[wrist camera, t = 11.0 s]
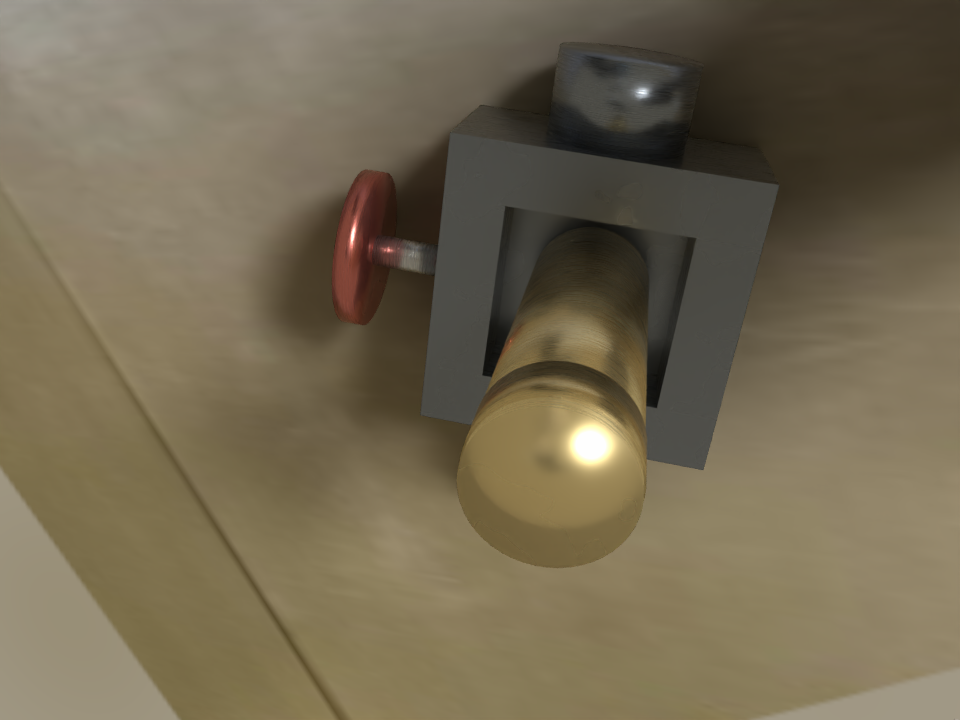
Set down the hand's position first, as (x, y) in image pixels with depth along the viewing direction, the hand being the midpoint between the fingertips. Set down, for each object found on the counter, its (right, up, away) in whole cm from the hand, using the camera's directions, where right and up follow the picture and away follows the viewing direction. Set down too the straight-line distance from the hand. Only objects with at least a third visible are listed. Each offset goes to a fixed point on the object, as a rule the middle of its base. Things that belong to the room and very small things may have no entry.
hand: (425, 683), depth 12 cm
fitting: (+5, +7, +23) cm, 25 cm away
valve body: (+4, +9, +26) cm, 28 cm away
